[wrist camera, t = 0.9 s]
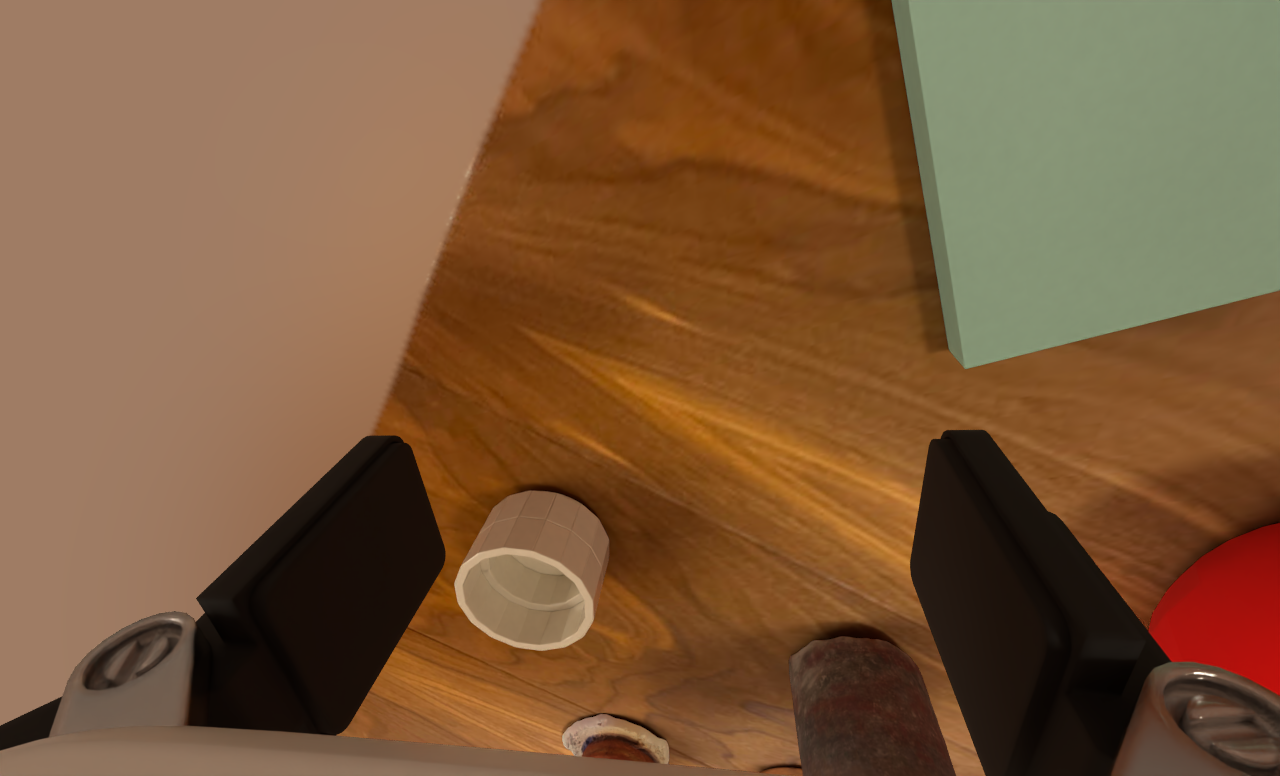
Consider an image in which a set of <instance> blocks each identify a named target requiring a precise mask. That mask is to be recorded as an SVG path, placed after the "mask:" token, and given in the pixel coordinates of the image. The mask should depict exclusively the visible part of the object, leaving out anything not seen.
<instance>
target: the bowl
mask: <svg viewBox="0 0 1280 776" xmlns="http://www.w3.org/2000/svg"><path fill="white" fill-rule="evenodd" d="M608 560H609V538H608V536H607V534H606V532H605V530H604V528H603V526H602V524H601V522H600V520H599V518H597V517H596V516H595V515H594V514H593V513H592V512H591V511H590V510H588V509H587V508H586V507H585V506H584V505H583V504H582V503H579V502H578V501H576V500H574V499H572V498H570V497H568V496H565V495H562V494H559V493H555V492H549V491H534V490H533V491H531V490H529V491H525V492H521V493H517V494H513V495H509V496H508V497H506V498H505V499H504V500H503V501H501V502H500V503H499V504H498V505H496V506H495V507H494V508H493V509H492V511H491V513H490V514H489V516H488V518H487V520H486V522H485V523H484V525H483V527H482V529H481V531H480V533H479V534H478V536H477V538H476V540H475V541H474V543H473V545H472V547H471V549H470V551H469V552H468V554H467V556H466V558H465V560H464V561H463V563H462V565H461V567H460V570H459V572H458V575H457V577H456V580H455V584H454V585H455V590H456V596H457V601H458V604H459V606H460V607H461V608H462V610H463V611H464V613H465V614H466V616H467V617H468V618H469V620H470V621H471V622H472V623H473V624H474V625H475V626H477V627H478V628H479V629H481V630H482V631H483V632H485V633H486V634H487V635H489V636H490V637H492V638H494V639H497V640H499V641H502V642H504V643H506V644H509V645H511V646H514V647H517V648H524V649H532V650H539V651H541V650H542V651H544V650H550V649H557V648H564V647H567V646H568V645H570V644H572V643H574V642H575V641H577V640H579V639H581V638H582V637H583V636H585V634H586V632H587V631H588V629H589V627H590V626H591V624H592V623H593V621H594V617H595V613H596V609H597V605H598V601H599V597H600V593H601V589H602V584H603V580H604V576H605V572H606V568H607V564H608Z"/></svg>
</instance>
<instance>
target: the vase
mask: <svg viewBox="0 0 1280 776" xmlns="http://www.w3.org/2000/svg"><path fill="white" fill-rule="evenodd" d="M1148 632H1149V633H1150V634H1151V636H1152V637H1153V638H1154V640H1155V641H1156V642H1157V643H1158V645H1159V646H1160V647H1161V649H1162V650H1163V651H1164V652H1165V654H1166V655H1167V656H1168V658H1169V659H1170V660H1171V661H1172V662H1196V663H1201V664H1206V665H1211V666H1216V667H1219V668H1222V669H1225V670H1227V671H1230V672H1233V673H1235V674H1238V675H1241V676H1243V677H1246V678H1248V679H1250V680H1252V681H1254V682H1256V683H1257V684H1259V685H1261V686H1263V687H1265V688H1267V689H1269V690H1271V691H1272V692H1274V693H1276V694H1277V695H1279V696H1280V523H1277V524H1273V525H1269V526H1264V527H1261V528H1258V529H1256V530H1253V531H1251V532H1248V533H1246V534H1243V535H1241V536H1238V537H1236V538H1233V539H1231V540H1228V541H1227V542H1225V543H1223V544H1222V545H1220V546H1218V547H1217V548H1215V549H1213V550H1212V551H1210V552H1208V553H1207V554H1205V555H1203V556H1202V557H1201V558H1199V559H1198V560H1197V561H1196V562H1195V563H1194V564H1193V565H1192V566H1191V567H1189V568H1188V569H1187V570H1186V571H1185V572H1184V573H1183V574H1182V575H1181V576H1180V577H1179V578H1178V579H1177V580H1176V581H1175V582H1174V583H1173V584H1172V585H1171V586H1170V587H1169V588H1168V590H1167V591H1166V593H1165V594H1164V596H1163V598H1162V599H1161V601H1160V602H1159V604H1158V605H1157V607H1156V608H1155V610H1154V611H1153V613H1152V617H1151V621H1150V625H1149V630H1148Z"/></svg>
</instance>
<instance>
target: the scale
mask: <svg viewBox="0 0 1280 776" xmlns="http://www.w3.org/2000/svg"><path fill="white" fill-rule="evenodd" d="M892 6H893V12H894V18H895V25H896V31H897V37H898V43H899V49H900V55H901V61H902V67H903V73H904V79H905V85H906V91H907V98H908V104H909V110H910V116H911V122H912V128H913V134H914V140H915V146H916V152H917V158H918V164H919V171H920V177H921V183H922V189H923V195H924V201H925V207H926V213H927V219H928V225H929V231H930V237H931V243H932V250H933V256H934V262H935V268H936V274H937V280H938V286H939V292H940V298H941V304H942V310H943V316H944V323H945V329H946V335H947V341H948V347H949V351H950V352H951V353H952V354H953V355H954V357H955V358H956V359H957V360H958V361H959V362H960V364H961V365H962V366H963V367H964V368H965V369H968V368H972V367H976V366H980V365H984V364H988V363H992V362H996V361H1000V360H1004V359H1008V358H1012V357H1016V356H1020V355H1024V354H1028V353H1032V352H1036V351H1040V350H1044V349H1048V348H1052V347H1056V346H1060V345H1064V344H1068V343H1072V342H1076V341H1080V340H1084V339H1088V338H1092V337H1096V336H1100V335H1104V334H1108V333H1111V332H1115V331H1119V330H1123V329H1127V328H1131V327H1135V326H1139V325H1143V324H1147V323H1151V322H1155V321H1159V320H1163V319H1167V318H1171V317H1175V316H1179V315H1183V314H1187V313H1191V312H1195V311H1199V310H1203V309H1207V308H1211V307H1215V306H1219V305H1223V304H1227V303H1231V302H1235V301H1239V300H1243V299H1247V298H1251V297H1255V296H1259V295H1263V294H1267V293H1271V292H1275V291H1279V290H1280V0H892Z"/></svg>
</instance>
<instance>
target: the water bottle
mask: <svg viewBox="0 0 1280 776" xmlns="http://www.w3.org/2000/svg"><path fill="white" fill-rule="evenodd" d="M760 773H768V774H779V775H790V776H803V773H802V769H801V768H794V767H777V768H771V769H767V770H764V771H762V772H760Z"/></svg>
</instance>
